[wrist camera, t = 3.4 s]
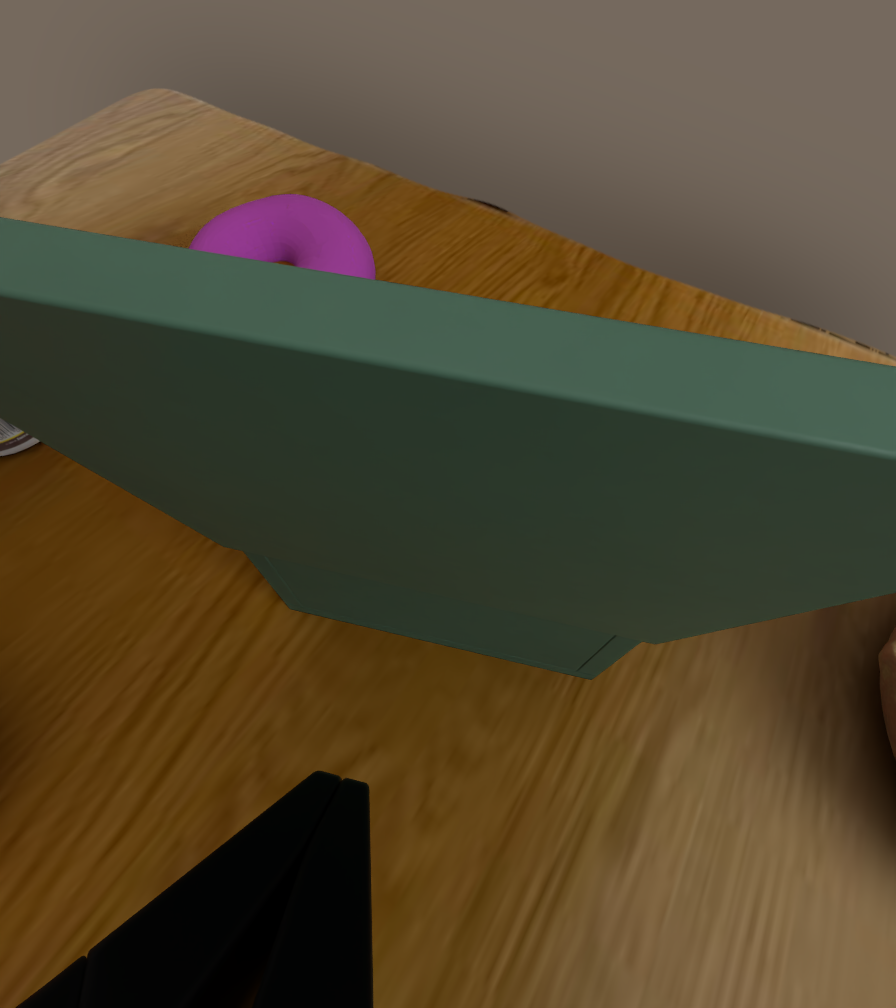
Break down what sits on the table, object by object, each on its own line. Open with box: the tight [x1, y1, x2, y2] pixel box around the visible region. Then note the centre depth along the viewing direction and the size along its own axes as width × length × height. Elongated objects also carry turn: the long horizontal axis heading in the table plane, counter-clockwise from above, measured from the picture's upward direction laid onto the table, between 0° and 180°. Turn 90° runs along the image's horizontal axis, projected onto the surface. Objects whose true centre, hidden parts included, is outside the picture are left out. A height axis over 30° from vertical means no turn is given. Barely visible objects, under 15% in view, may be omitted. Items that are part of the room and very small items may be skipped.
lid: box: [0, 217, 896, 644], centre depth 10 cm, size 11×13×1 cm
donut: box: [189, 194, 375, 280], centre depth 29 cm, size 10×10×5 cm
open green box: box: [243, 551, 642, 680], centre depth 21 cm, size 11×13×7 cm
